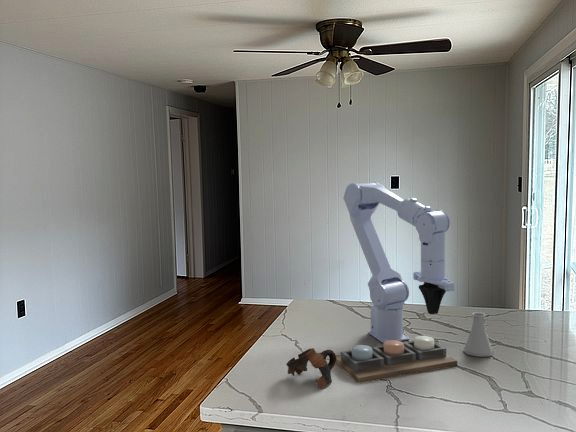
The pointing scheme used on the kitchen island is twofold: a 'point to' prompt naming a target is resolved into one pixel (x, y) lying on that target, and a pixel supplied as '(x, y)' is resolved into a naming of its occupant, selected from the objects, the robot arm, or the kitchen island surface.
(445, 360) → the three-slot key tray
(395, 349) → the terracotta key
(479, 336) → the flask
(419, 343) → the cream rounded piece
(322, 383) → the brown animal figure
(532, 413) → the kitchen island surface
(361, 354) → the pale blue dome
